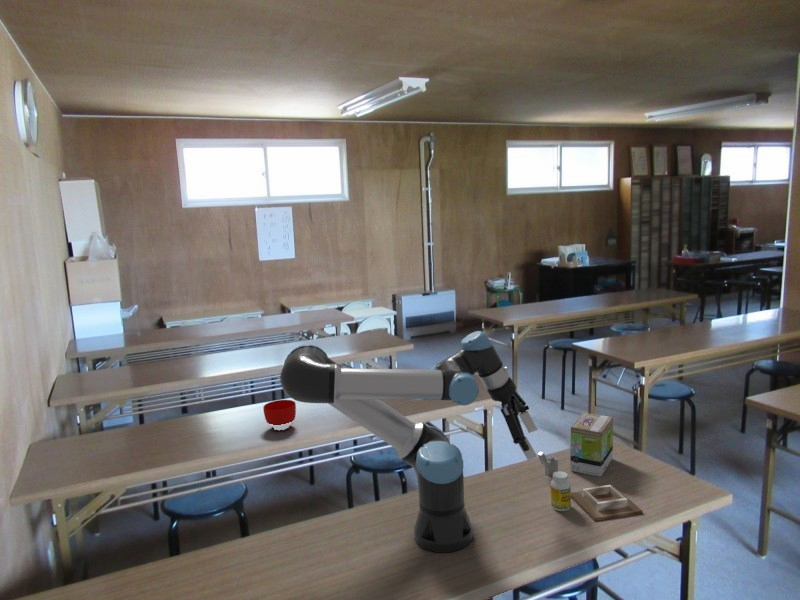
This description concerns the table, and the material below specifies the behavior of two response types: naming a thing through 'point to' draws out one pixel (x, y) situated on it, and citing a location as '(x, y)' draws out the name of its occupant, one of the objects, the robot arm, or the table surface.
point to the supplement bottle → (560, 491)
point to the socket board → (605, 503)
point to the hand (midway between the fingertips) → (532, 444)
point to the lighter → (548, 463)
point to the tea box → (591, 444)
